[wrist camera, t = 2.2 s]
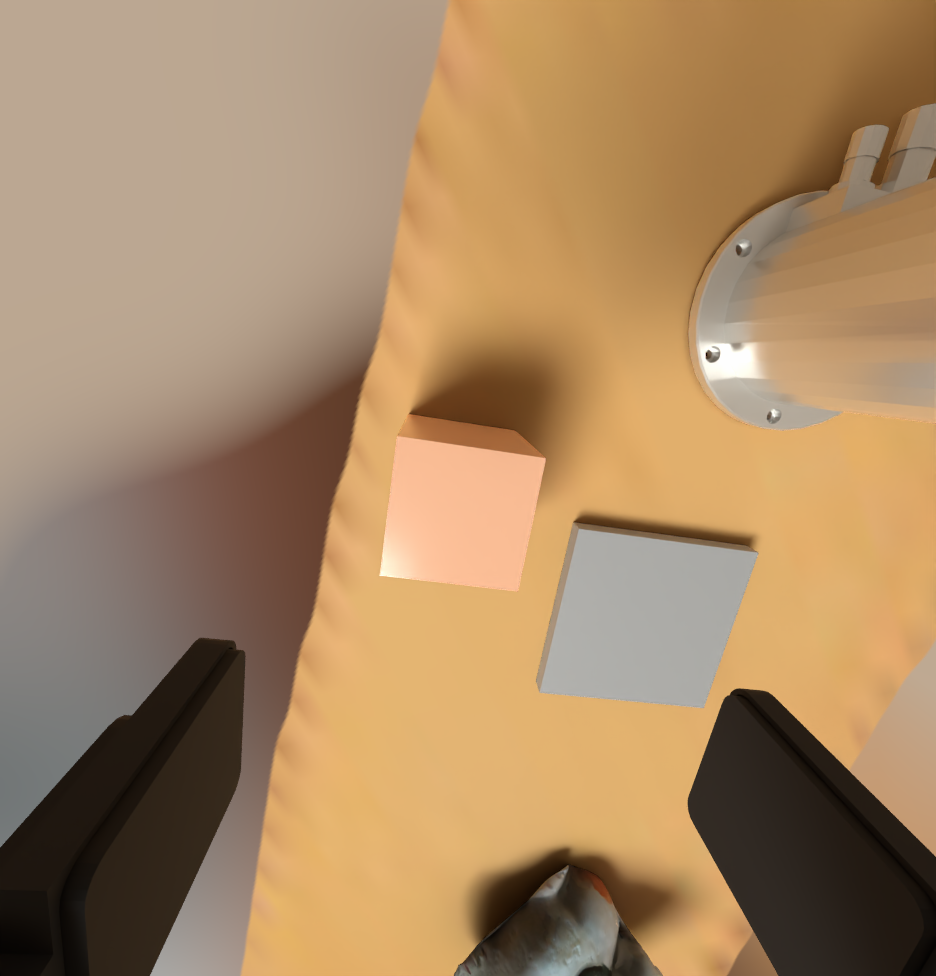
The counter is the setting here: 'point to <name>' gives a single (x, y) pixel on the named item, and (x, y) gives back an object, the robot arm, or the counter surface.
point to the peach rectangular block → (460, 503)
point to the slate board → (642, 615)
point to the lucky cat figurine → (562, 935)
